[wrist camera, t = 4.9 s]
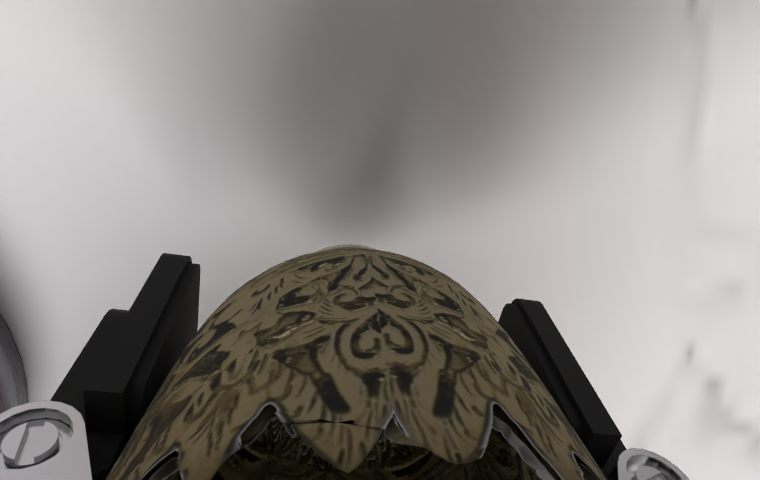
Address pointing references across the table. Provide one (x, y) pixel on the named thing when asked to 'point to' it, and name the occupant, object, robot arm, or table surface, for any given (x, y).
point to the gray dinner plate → (10, 372)
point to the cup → (353, 385)
